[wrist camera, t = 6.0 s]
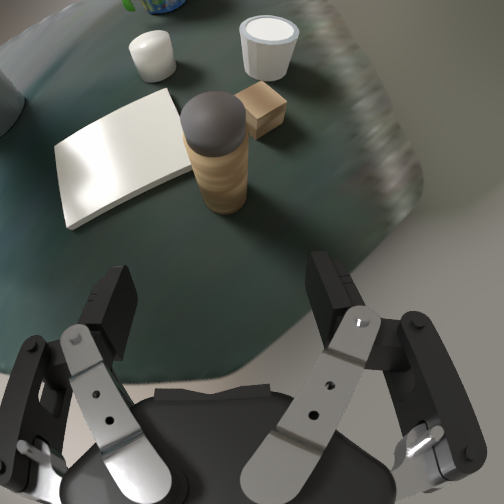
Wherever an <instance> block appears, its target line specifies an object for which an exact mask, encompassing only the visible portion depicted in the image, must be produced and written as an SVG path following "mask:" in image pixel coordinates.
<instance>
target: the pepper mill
mask: <svg viewBox="0 0 504 504" xmlns="http://www.w3.org/2000/svg"><path fill="white" fill-rule="evenodd" d="M180 122H181V126H182V129H183V142H184V145H185V148H186V151H187V154H188V157H189V160H190V163H191V165H192V168H193V171H194V174H195V177H196V180H197V183H198V185H199V188H200V191H201V194H202V197H203V200H204V202H205V204H206V206H207V207H208V208H209V209H210V210H211V211H213V212H214V213H217V214H221V215H227V214H232V213H234V212H236V211H238V210H239V209H240V208H241V207H242V206H243V205H244V203H245V201H246V198H247V171H248V136H249V129H248V125H247V123H246V110H245V106H244V105H243V103H242V102H241V100H240V99H239V98H237V97H236V96H234V95H232V94H230V93H227V92H222V91H211V92H205V93H202V94H200V95H197V96H195V97H194V98H192V99H191V100H190V101H189V102H188V103H187V104H186V105H185V106H184V108H183V109H182V112H181V115H180Z"/></svg>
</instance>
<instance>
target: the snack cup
mask: <svg viewBox="0 0 504 504" xmlns="http://www.w3.org/2000/svg"><path fill="white" fill-rule="evenodd" d="M122 1H123V5H124V7H125V9H126V10H128V11H132V12H134V11H135V8H134V6H133V4H132V2H131V1H130V0H122ZM185 1H186V0H141V2H142V4H143V6H144V8H145V10H147V11H148V12H149V13H151V14H153V13H165V12H170V11H173V10H174V9H177V8H178V7H180V6H181V5H182V4H184V3H185Z"/></svg>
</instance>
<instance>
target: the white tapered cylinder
mask: <svg viewBox="0 0 504 504" xmlns="http://www.w3.org/2000/svg"><path fill="white" fill-rule="evenodd" d="M239 28H240V35H241V43H242V51H243V59H244V67H245V72H246V73H247V74H248V75H249V76H250V77H252V78H254V79H256V80H261V81H275V80H278V79H281V78H282V77H283V76H285V75H286V72H287V69H288V66H289V63H290V60H291V57H292V53H293V50H294V47H295V44H296V41H297V38H298V35H299V30H298V28H297V26H296V25H295V24H293V23H292V22H291V21H289V20H286V19H284V18H281V17H276V16H270V15H265V16H256V17H251V18H249V19H247V20H245V21H244V22H242V24H241V26H240V27H239Z"/></svg>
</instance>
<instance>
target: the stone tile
mask: <svg viewBox="0 0 504 504" xmlns="http://www.w3.org/2000/svg"><path fill="white" fill-rule="evenodd" d="M54 148H55V158H56V167H57V174H58V182H59V188H60V194H61V200H62V206H63V211H64V216H65V221H66V226H67V228H69V229H70V230H74V229H76V228H77V227H79V226H81V225H83V224H84V223H86V222H88V221H90V220H92V219H93V218H95V217H97V216H99V215H101V214H103V213H104V212H106V211H108V210H110V209H112V208H114V207H116V206H118V205H120V204H121V203H123V202H125V201H127V200H129V199H131V198H133V197H135V196H137V195H139V194H141V193H143V192H145V191H147V190H150V189H152V188H154V187H156V186H158V185H160V184H162V183H164V182H166V181H169V180H171V179H173V178H175V177H177V176H180V175H182V174H184V173H186V172H189V171H191V170H193V168H192V165H191V163H190V160H189V157H188V154H187V151H186V148H185V145H184V142H183V129H182V126H181V122H180V117H179V114H178V112H177V110H176V108H175V106H174V103H173V101H172V99H171V97H170V95H169V92H168V90H167V88H165V89H162V90H160V91H157V92H155V93H153V94H150V95H148V96H146V97H144V98H141V99H139V100H137V101H135V102H133V103H131V104H128V105H126V106H124V107H122V108H120V109H118V110H116V111H114V112H112V113H110V114H108V115H107V116H105V117H103V118H101V119H99V120H97V121H95V122H94V123H92V124H90V125H88V126H86V127H85V128H83V129H81V130H80V131H78V132H76V133H75V134H73V135H71V136H70V137H68V138H66V139H65V140H63V141H62V142H60V143H58V144H57V145H55V146H54Z"/></svg>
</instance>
